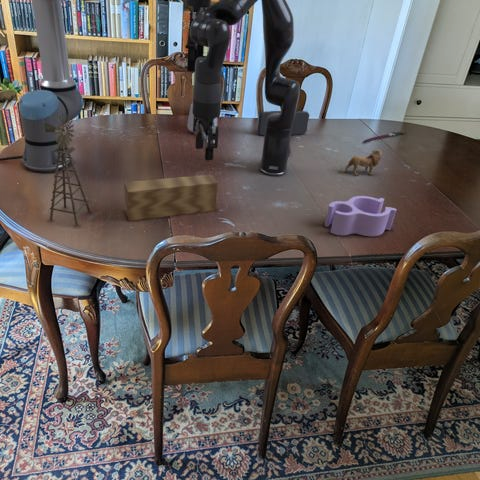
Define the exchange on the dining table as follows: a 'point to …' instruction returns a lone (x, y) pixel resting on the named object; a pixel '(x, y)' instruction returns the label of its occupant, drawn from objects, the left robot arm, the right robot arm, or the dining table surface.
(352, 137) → the dining table surface
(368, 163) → the lion figurine
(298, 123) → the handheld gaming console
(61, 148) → the miniature windmill
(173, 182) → the bar
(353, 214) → the clip
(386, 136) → the sword
